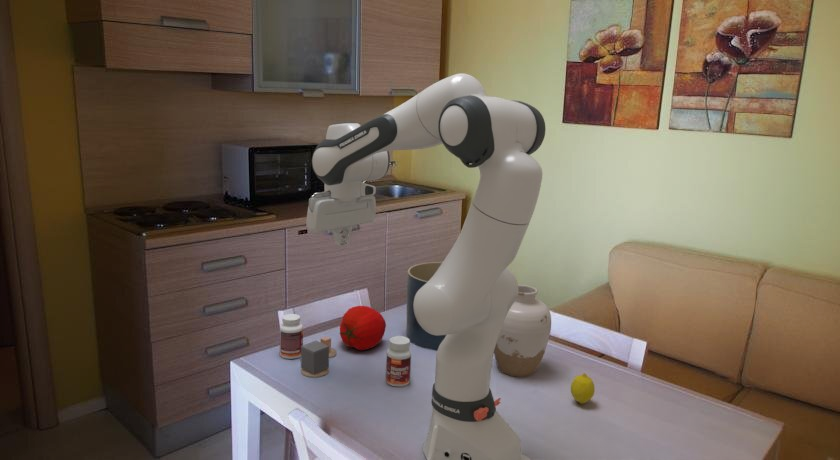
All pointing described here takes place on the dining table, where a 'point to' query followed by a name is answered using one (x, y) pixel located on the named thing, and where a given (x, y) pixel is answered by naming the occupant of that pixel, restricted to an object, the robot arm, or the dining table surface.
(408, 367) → the pill bottle
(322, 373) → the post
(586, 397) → the fruit
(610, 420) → the dining table surface
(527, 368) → the vase
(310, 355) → the charcoal tapered box
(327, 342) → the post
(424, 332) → the planter
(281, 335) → the pill bottle
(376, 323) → the tomato
